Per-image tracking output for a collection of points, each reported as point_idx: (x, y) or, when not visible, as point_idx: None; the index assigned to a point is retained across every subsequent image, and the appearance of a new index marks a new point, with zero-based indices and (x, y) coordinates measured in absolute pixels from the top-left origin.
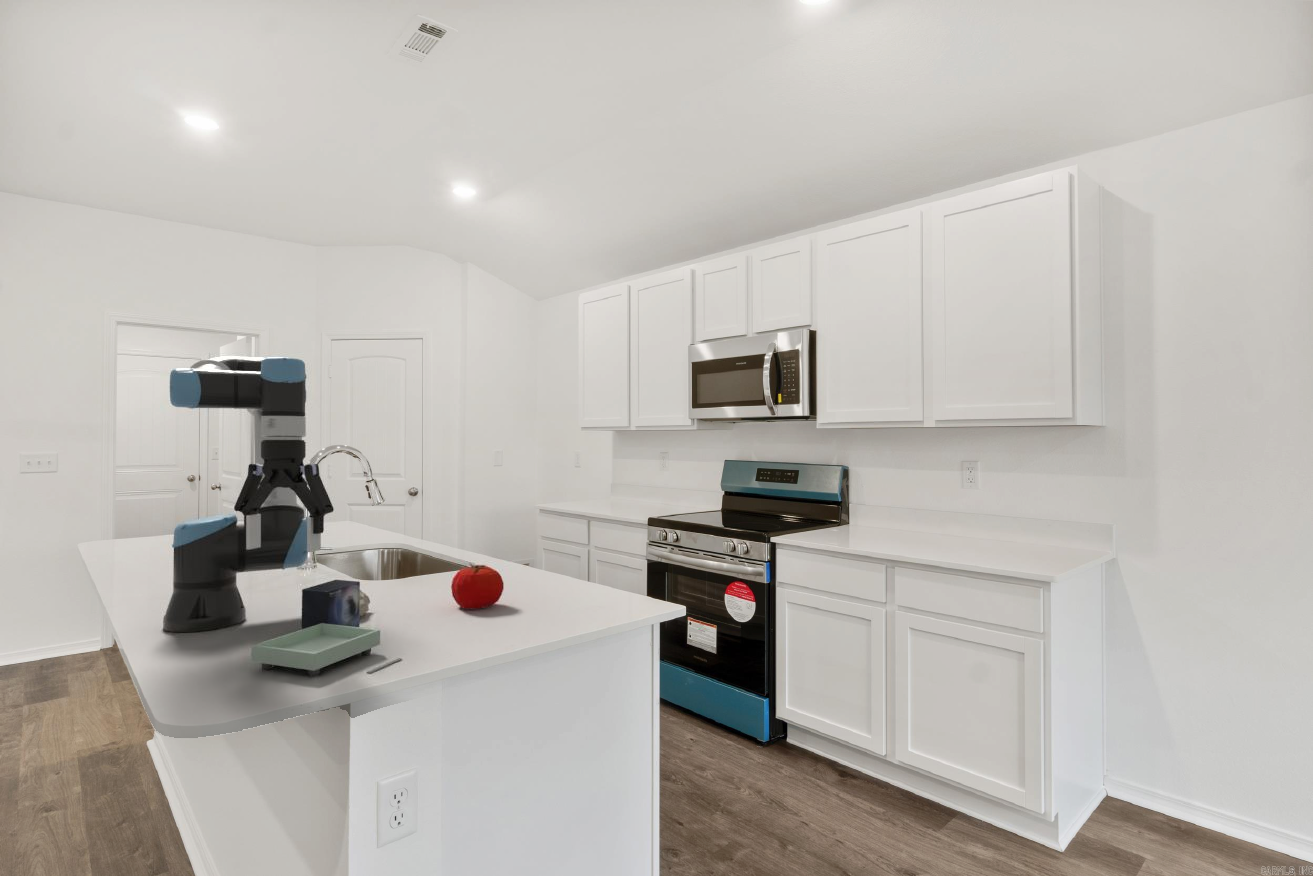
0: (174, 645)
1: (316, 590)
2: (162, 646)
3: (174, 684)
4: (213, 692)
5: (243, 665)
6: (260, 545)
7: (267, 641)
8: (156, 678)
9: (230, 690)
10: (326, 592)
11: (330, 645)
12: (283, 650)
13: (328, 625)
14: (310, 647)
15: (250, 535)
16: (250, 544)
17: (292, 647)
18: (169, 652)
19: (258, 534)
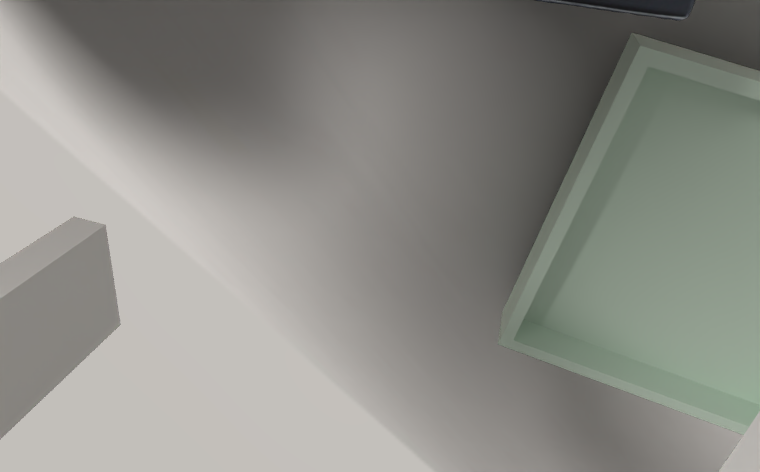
0: (74, 46)
1: (587, 2)
2: (52, 59)
3: (369, 366)
4: (503, 422)
5: (447, 247)
6: (94, 236)
7: (528, 308)
8: (293, 325)
9: (537, 417)
10: (675, 18)
11: (750, 218)
12: (640, 396)
13: (692, 79)
14: (668, 239)
15: (32, 402)
16: (93, 345)
17: (593, 236)
18: (130, 121)
19: (13, 321)
